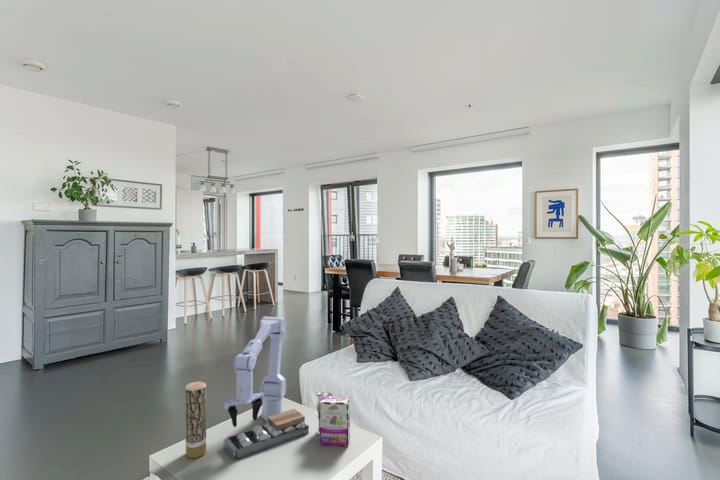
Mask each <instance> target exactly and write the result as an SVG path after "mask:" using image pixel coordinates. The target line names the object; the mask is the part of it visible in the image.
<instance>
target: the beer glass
mask: <svg viewBox="0 0 720 480" xmlns="http://www.w3.org/2000/svg"><path fill="white" fill-rule="evenodd" d="M322 397H324V398H334V394H333V393H331V392H330V391H320V392H318V393H316V399H315V412H316V417H317V430H316V433H317V435H318V436H320V408H319V406H320V405H319V403H320V401H321V399H322Z"/></svg>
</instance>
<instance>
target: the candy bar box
mask: <svg viewBox="0 0 720 480" xmlns="http://www.w3.org/2000/svg"><path fill="white" fill-rule="evenodd" d="M350 401H351V400H350V398H347V397H346V398H345V397H344V398H343V397H333V398H324V397H322V399H321V401H320V403H319V405H320V406H319V408H320V435H319V445H320V446H329V447H330V446H332V447H349V444H350V442H351V417H350V415H351V405H350Z"/></svg>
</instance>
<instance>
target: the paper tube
mask: <svg viewBox="0 0 720 480" xmlns="http://www.w3.org/2000/svg"><path fill="white" fill-rule="evenodd" d="M206 451H207V382H204V381H194V382H190V383H187V384H186V386H185V455H186V457H187V458H189V459H197V458H200V457H202V456H204V455H205V453H206Z"/></svg>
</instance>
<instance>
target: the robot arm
mask: <svg viewBox="0 0 720 480" xmlns="http://www.w3.org/2000/svg"><path fill="white" fill-rule="evenodd" d="M286 333H287V320H286V319H285V317H284V316H283V317H280V316H278V317H276V316H266V315H264V316H263V317H261V319H260V323H259V330H258V331H257V333H256V335H255V337H254V339H250V340H249V341H248V343H247V344H246V346H245V347H244V349H243V350H242V352H241V353H238V354H237V355H236V356H235V357H234V359H233V364H232V365H233V369H234V375H236V397H235V398H233V399H230V400H228V401H225V402H223V404H224V405H223V406H224V407H223V408H224V409H225V410H226V411H228V413H229V414H228V415H230V418H231V422H232V426H233V427H234V428H237V425H238V424H237V423H238V422H237V418H238V417H237V416H238V409H237V406H241V405H244V404H245V405H249V404H251V406H252V420H253V421H257V419H258V415H259V416H260V417H261V418H262V419H264V421H265V422H266V423H267V422H268V417H270V416H273V415H276V414H279V413H282V412H283V398H284V396H285V395H286V393H287V381H286V378H285V377H284V376H283V375H282V374H281V364H282V362H281V360H282V347H283V337H284V336H286ZM268 337H270V345H269V361H268V373H267V375H265V376H264V377H263V378H262V380H261V381H262V382H261V386H260V392H258V393H254V390H253V383H254V381H253V379H254V377H253V373H254V372H253V371H254V369H255V366H256V363H257V360H258V356H259V355H260V353H261V351H262V350H263V343H264V341H266V339H267V338H268ZM260 409H261V413H259V412H260Z"/></svg>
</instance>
